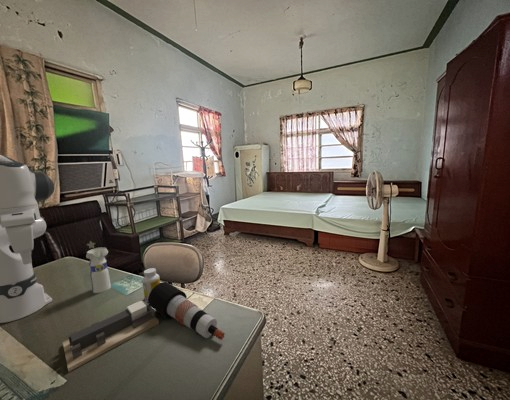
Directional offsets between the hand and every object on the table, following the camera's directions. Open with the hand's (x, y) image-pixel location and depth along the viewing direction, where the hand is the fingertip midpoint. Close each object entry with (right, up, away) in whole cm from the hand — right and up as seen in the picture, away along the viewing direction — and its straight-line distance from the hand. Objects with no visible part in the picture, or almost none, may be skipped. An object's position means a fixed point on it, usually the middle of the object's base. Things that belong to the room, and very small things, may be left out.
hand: (28, 259), depth 67 cm
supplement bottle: (+26, -25, +27) cm, 45 cm away
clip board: (+22, -27, +7) cm, 36 cm away
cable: (+46, -26, +11) cm, 54 cm away
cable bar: (+22, -26, +7) cm, 35 cm away
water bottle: (-3, -24, +37) cm, 44 cm away
